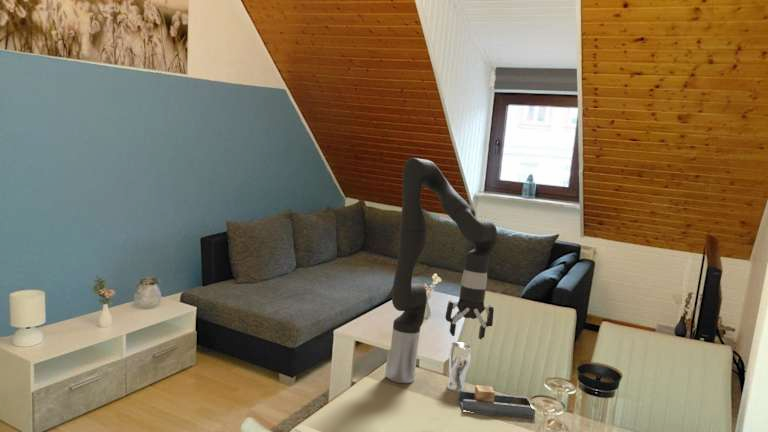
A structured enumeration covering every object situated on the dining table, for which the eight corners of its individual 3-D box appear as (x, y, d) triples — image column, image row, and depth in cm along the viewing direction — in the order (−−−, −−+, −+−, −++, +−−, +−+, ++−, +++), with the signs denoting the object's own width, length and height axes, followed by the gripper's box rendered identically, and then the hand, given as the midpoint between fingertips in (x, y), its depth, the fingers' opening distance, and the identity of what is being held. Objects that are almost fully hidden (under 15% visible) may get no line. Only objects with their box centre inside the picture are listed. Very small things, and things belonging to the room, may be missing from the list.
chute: (462, 412, 164) (464, 401, 164) (458, 400, 173) (459, 389, 173) (534, 419, 165) (535, 408, 165) (526, 407, 174) (527, 396, 174)
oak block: (476, 406, 166) (478, 391, 166) (473, 400, 171) (475, 384, 171) (492, 408, 167) (494, 392, 166) (489, 401, 172) (491, 386, 171)
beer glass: (442, 388, 182) (447, 344, 181) (449, 382, 188) (455, 340, 187) (462, 394, 179) (467, 349, 178) (469, 388, 185) (474, 345, 184)
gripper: (452, 285, 162) (445, 338, 164) (499, 290, 163) (492, 343, 164) (448, 280, 170) (442, 330, 171) (493, 285, 170) (486, 335, 172)
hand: (466, 336), depth 168 cm, fingers open, 8 cm apart
